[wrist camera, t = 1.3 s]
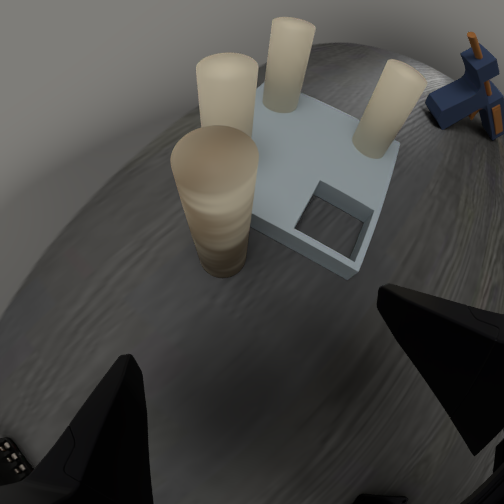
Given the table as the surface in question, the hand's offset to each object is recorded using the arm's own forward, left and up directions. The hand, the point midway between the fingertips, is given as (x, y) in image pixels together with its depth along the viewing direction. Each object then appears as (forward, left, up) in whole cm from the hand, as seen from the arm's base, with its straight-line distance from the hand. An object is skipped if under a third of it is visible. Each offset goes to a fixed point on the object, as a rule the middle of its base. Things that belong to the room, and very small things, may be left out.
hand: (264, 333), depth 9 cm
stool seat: (+2, -19, -13) cm, 23 cm away
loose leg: (+5, -6, -13) cm, 16 cm away
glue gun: (-22, -47, -14) cm, 54 cm away
